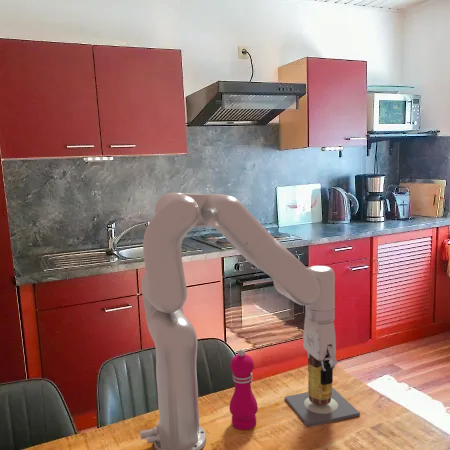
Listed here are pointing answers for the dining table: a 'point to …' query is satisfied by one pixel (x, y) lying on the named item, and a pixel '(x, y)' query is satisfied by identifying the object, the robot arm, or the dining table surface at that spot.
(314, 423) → the bottle mat
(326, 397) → the sauce bottle
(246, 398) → the pepper mill
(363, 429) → the dining table surface
